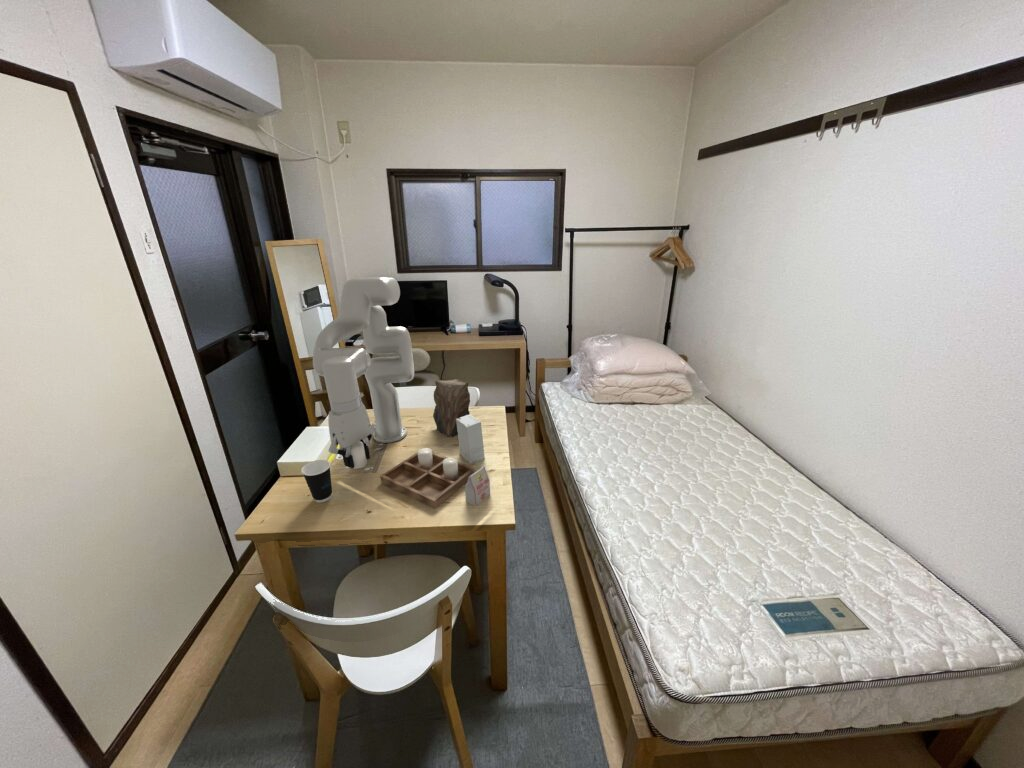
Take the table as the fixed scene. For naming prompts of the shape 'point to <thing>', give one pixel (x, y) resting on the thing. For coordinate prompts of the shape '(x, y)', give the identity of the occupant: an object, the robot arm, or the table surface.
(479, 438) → the skincare box
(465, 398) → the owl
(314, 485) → the dixie cup
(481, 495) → the milk carton
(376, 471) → the table surface
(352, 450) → the egg
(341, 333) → the robot arm
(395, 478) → the rack
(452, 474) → the egg right
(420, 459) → the egg left
